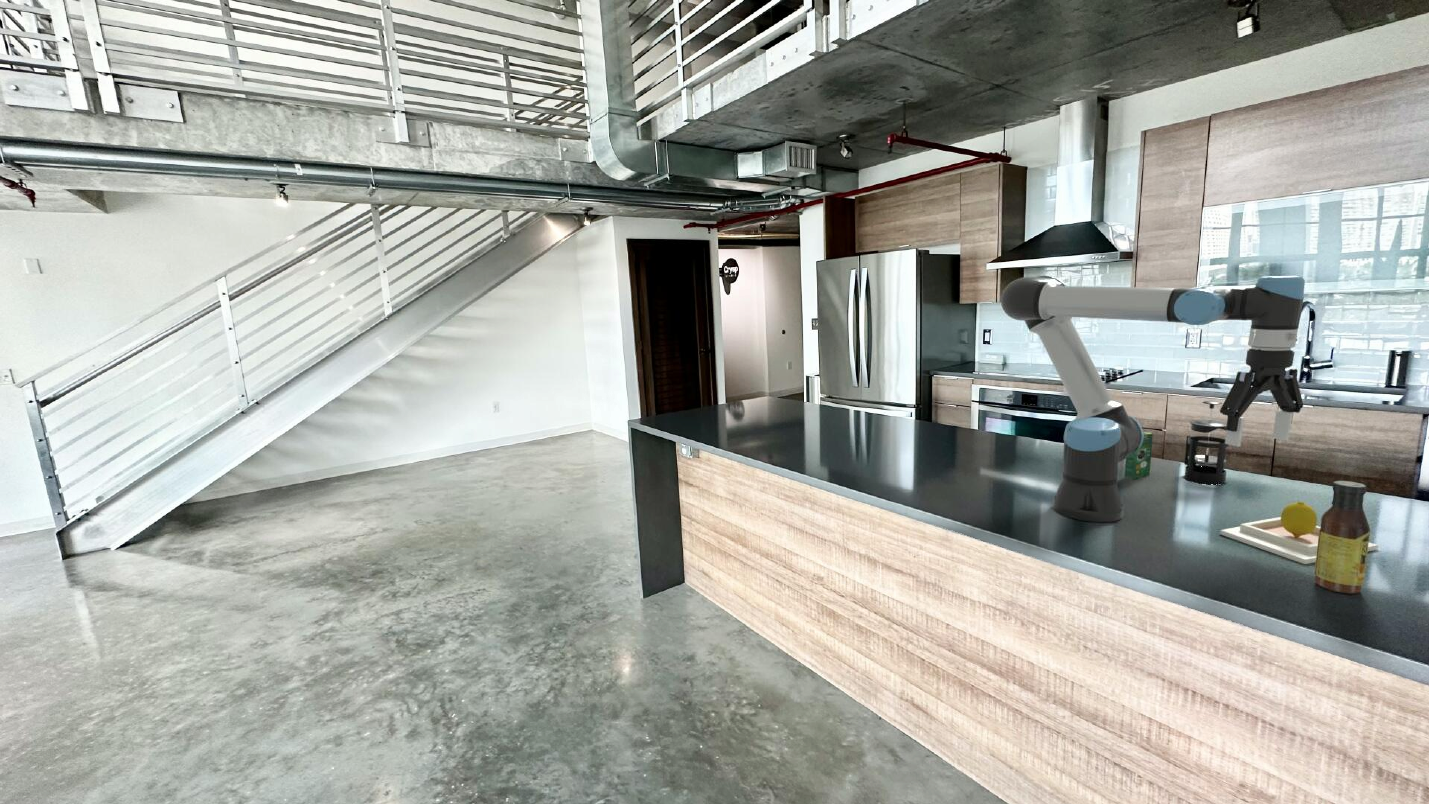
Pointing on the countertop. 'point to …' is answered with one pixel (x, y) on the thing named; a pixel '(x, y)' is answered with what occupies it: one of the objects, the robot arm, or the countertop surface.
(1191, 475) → the french press
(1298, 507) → the lemon
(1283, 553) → the tray
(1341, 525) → the sauce bottle
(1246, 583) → the countertop surface
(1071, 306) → the robot arm
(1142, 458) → the coffee box
